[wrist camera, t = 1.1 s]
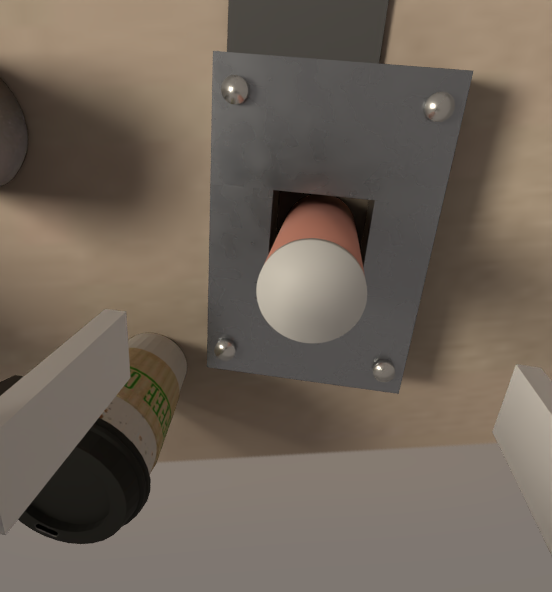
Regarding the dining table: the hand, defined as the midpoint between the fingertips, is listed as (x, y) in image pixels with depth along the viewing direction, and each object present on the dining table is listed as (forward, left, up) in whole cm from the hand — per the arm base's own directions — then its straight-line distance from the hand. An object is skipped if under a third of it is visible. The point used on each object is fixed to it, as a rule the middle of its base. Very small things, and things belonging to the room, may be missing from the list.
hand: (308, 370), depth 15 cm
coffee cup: (-14, -14, -20) cm, 28 cm away
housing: (0, 0, -20) cm, 20 cm away
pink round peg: (0, 0, -20) cm, 20 cm away
